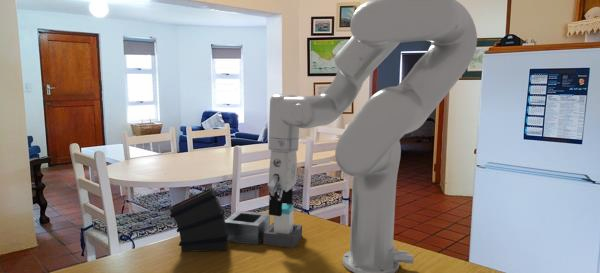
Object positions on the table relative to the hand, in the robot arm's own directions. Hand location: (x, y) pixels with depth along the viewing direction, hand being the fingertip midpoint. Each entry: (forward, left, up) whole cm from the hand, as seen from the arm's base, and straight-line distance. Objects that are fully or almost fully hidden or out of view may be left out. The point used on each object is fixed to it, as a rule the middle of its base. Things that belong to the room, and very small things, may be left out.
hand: (280, 209), depth 106 cm
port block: (+9, 0, -8) cm, 12 cm away
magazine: (+17, +11, -8) cm, 22 cm away
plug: (-1, 0, -8) cm, 8 cm away
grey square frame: (-1, 0, -8) cm, 8 cm away
